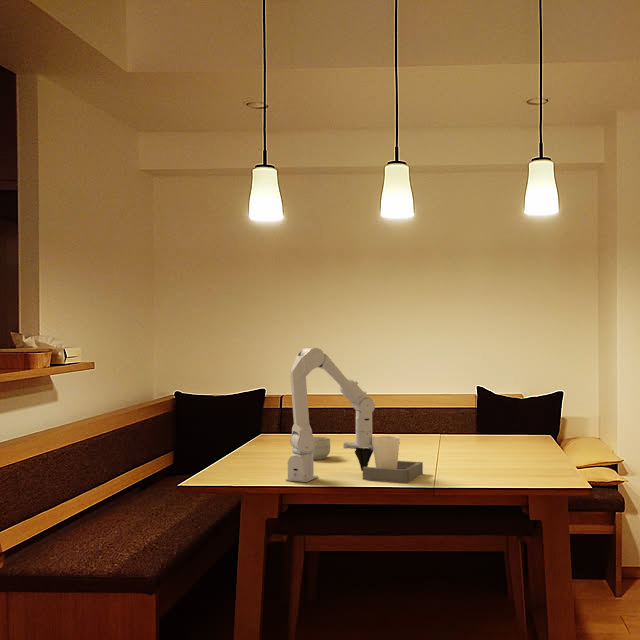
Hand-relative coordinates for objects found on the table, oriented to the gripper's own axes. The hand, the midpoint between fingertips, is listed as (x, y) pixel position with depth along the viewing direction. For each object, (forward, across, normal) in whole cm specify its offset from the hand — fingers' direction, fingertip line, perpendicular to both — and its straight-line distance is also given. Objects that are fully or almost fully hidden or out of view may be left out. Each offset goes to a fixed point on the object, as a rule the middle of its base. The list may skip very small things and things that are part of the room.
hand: (364, 470), depth 283 cm
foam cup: (+1, -8, 0) cm, 8 cm away
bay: (+1, -10, 0) cm, 10 cm away
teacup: (+2, +28, -25) cm, 38 cm away
